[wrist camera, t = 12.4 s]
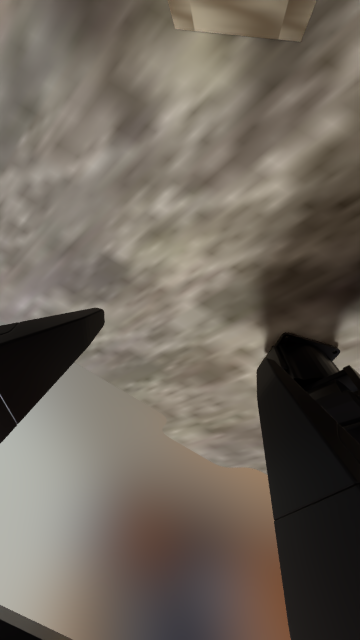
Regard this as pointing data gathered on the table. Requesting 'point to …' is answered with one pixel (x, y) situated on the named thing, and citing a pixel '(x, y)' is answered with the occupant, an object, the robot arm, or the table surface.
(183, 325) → the table surface
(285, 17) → the socket block
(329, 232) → the table surface
